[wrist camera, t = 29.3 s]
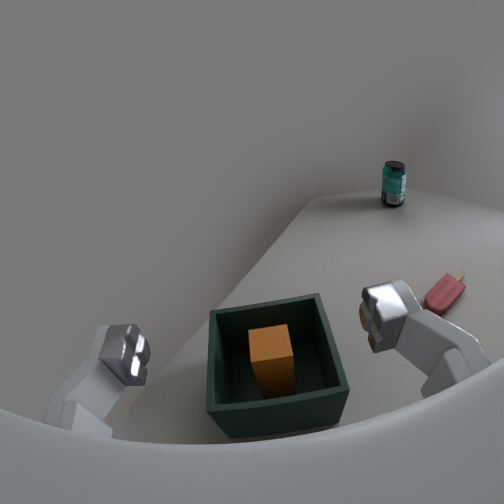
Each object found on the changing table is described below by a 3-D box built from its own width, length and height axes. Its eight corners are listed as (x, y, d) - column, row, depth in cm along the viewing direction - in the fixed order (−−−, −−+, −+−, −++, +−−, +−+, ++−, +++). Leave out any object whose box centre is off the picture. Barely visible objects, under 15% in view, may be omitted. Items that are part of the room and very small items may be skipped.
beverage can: (398, 196, 76) (400, 159, 69) (407, 207, 70) (411, 168, 63) (377, 198, 77) (379, 160, 70) (386, 208, 71) (388, 168, 64)
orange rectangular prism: (263, 401, 34) (250, 362, 28) (260, 374, 38) (248, 330, 32) (296, 396, 34) (292, 355, 28) (291, 369, 38) (286, 323, 31)
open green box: (230, 438, 31) (206, 411, 25) (227, 354, 43) (209, 310, 37) (339, 422, 30) (350, 389, 24) (317, 339, 42) (318, 292, 36)
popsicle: (473, 275, 43) (441, 315, 38) (471, 281, 44) (439, 321, 39) (455, 263, 47) (419, 299, 42) (453, 269, 48) (417, 305, 43)
